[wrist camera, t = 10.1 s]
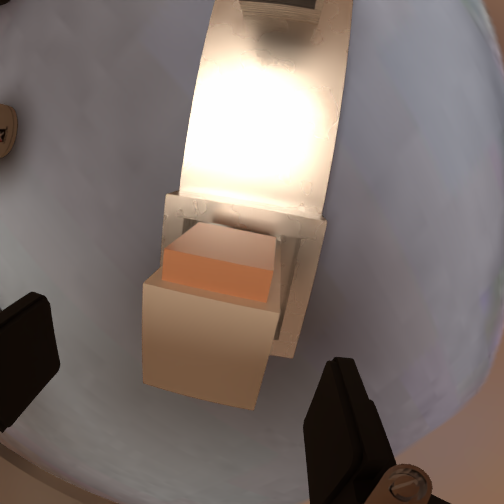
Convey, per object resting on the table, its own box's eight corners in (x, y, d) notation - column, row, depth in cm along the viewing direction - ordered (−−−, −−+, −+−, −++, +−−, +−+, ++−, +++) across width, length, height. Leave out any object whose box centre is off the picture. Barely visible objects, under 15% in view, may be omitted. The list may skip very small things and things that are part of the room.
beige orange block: (266, 308, 17) (253, 410, 10) (197, 294, 17) (143, 383, 10) (284, 222, 16) (287, 280, 8) (208, 207, 16) (144, 250, 8)
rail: (290, 325, 20) (292, 448, 10) (178, 304, 20) (110, 405, 10) (349, -24, 13) (385, -120, 3) (235, -39, 13) (204, -137, 3)
